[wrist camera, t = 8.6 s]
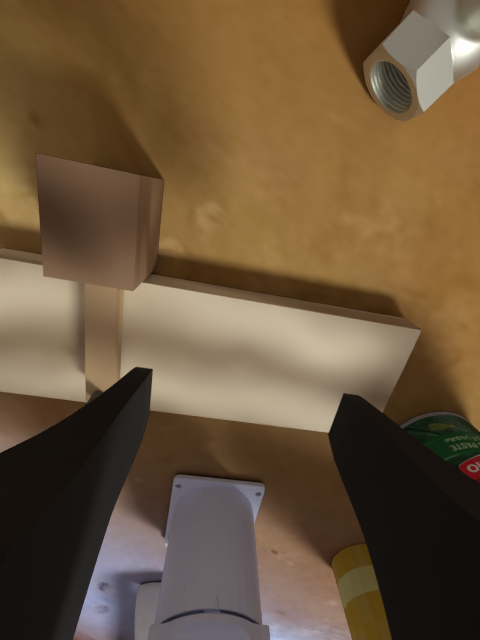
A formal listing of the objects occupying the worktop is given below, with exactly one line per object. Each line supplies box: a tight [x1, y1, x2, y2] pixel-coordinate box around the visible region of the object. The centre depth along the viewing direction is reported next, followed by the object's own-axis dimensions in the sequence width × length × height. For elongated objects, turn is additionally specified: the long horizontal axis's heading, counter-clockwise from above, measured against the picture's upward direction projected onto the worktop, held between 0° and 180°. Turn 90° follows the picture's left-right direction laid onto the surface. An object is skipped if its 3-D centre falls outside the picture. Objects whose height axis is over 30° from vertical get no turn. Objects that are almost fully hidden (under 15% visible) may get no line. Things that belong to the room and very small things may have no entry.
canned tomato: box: [400, 411, 480, 483], centre depth 20 cm, size 8×8×11 cm
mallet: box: [36, 153, 164, 404], centre depth 17 cm, size 13×4×5 cm, turn 169°
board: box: [0, 248, 422, 433], centre depth 20 cm, size 9×26×2 cm, turn 79°
